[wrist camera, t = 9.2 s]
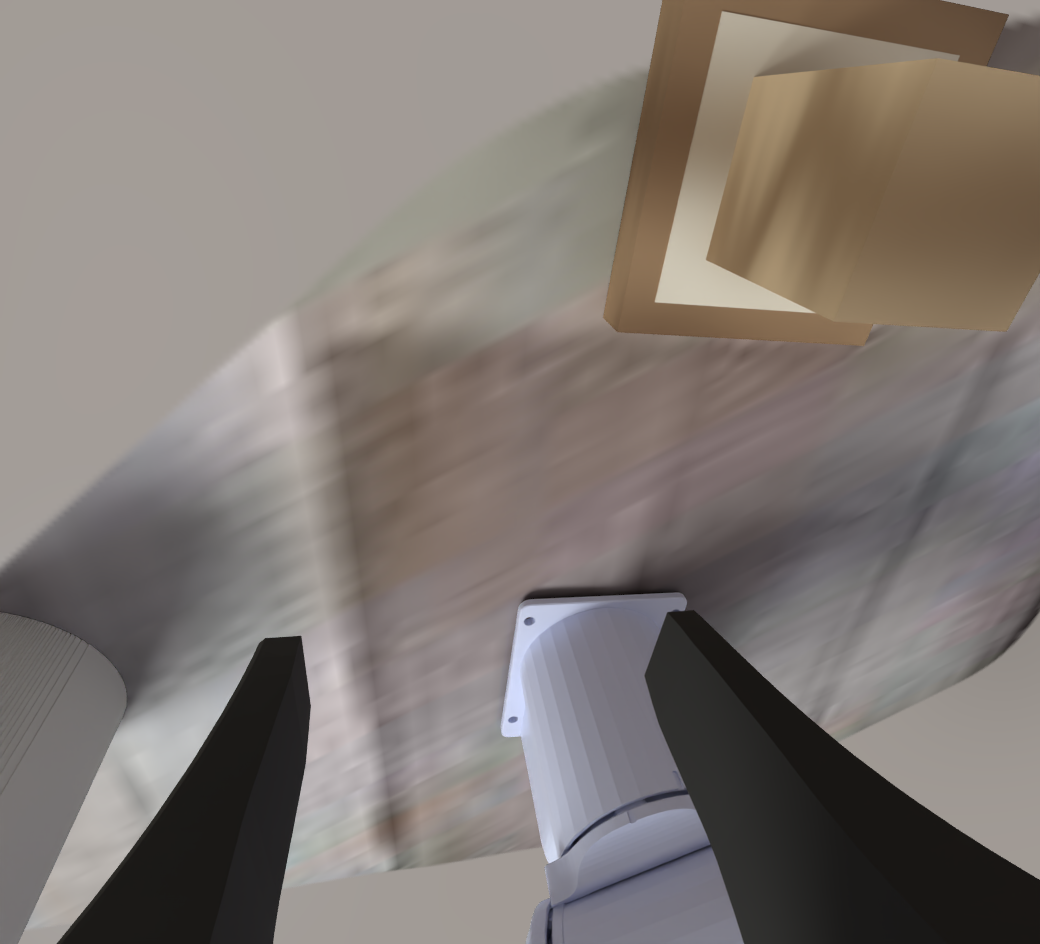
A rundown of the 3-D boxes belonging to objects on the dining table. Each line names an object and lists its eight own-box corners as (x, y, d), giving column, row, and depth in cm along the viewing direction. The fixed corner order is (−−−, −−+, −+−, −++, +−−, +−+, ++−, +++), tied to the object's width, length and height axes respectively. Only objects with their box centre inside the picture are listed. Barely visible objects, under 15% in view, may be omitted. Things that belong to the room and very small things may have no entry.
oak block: (836, 270, 18) (1006, 332, 13) (705, 259, 17) (833, 321, 12) (901, 99, 15) (1140, 93, 10) (753, 76, 15) (938, 58, 10)
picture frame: (836, 331, 21) (864, 346, 19) (603, 317, 19) (618, 332, 18) (961, 22, 16) (1010, 14, 15) (669, -38, 14) (696, -52, 13)
